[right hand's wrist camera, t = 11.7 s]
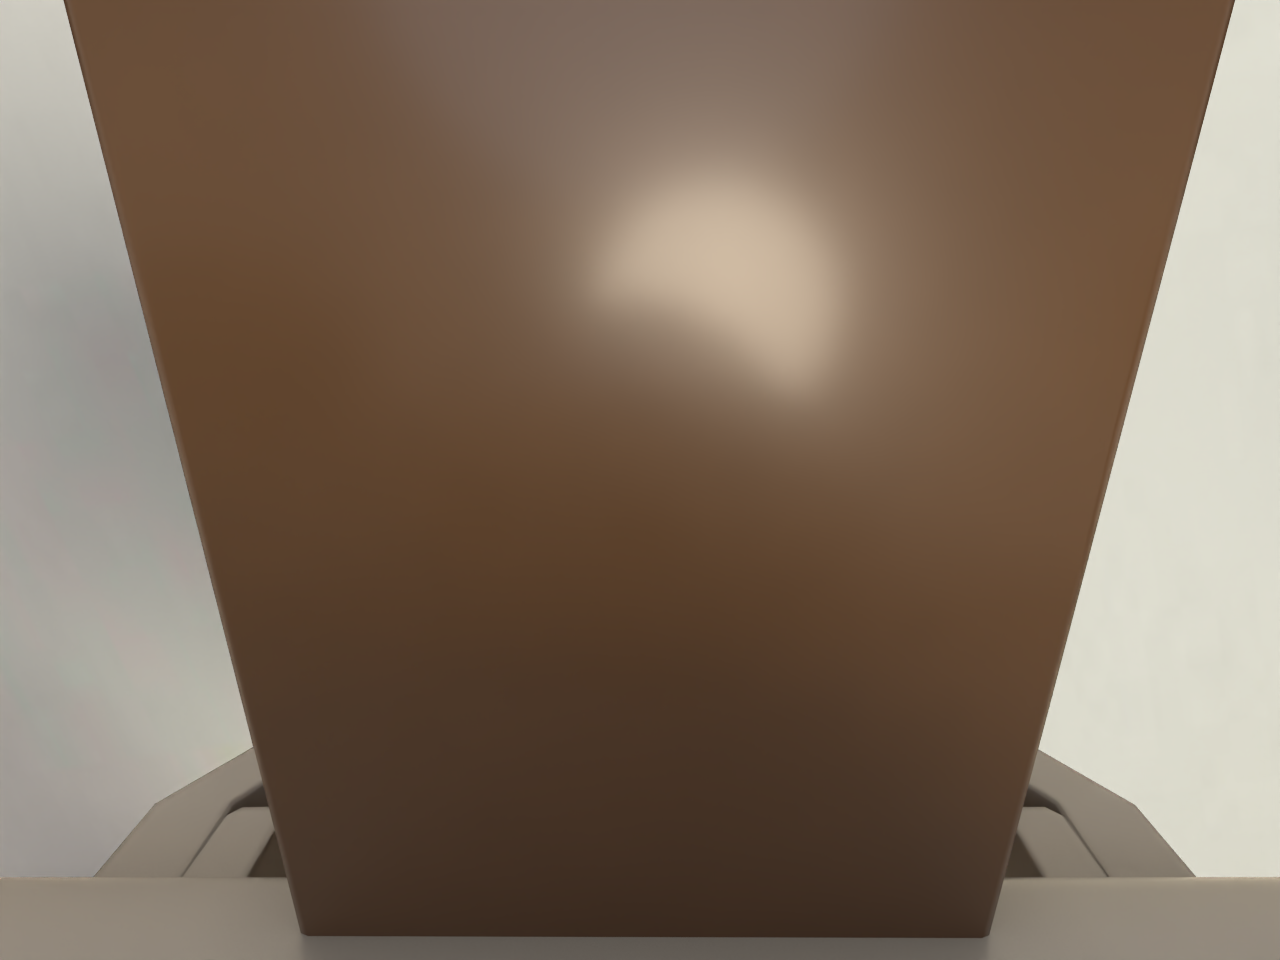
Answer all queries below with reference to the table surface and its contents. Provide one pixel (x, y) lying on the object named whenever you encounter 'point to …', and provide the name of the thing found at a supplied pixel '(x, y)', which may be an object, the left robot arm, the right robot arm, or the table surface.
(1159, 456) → the table surface
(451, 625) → the bar
